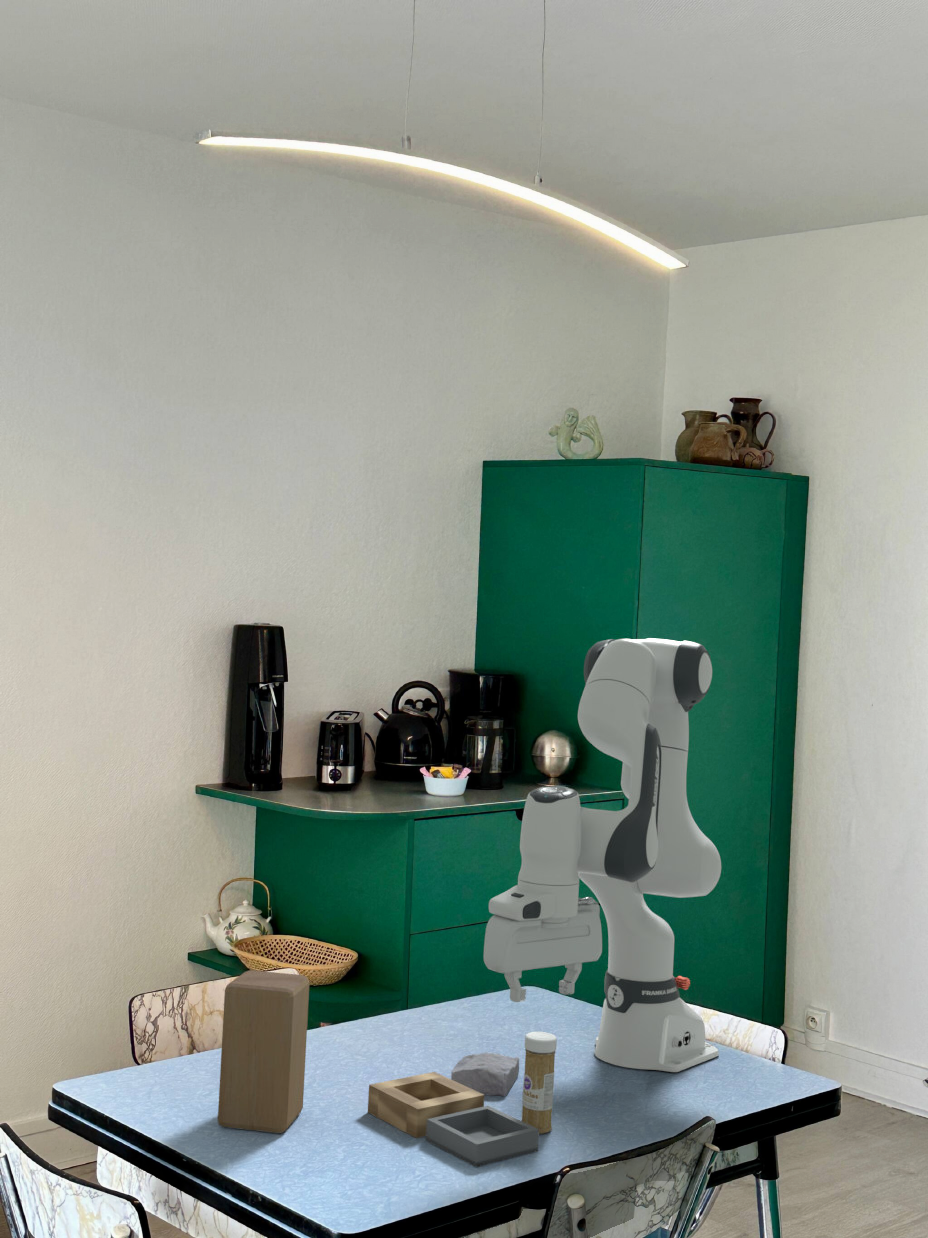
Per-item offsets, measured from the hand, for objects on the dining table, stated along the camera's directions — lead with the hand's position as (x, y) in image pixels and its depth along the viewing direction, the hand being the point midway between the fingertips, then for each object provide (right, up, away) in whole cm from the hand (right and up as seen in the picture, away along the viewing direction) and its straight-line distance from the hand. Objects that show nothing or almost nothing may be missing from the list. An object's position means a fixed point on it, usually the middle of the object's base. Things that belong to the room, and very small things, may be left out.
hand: (542, 997), depth 194 cm
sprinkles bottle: (-1, -19, 0) cm, 19 cm away
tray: (-9, -18, -8) cm, 22 cm away
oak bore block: (-17, -18, +2) cm, 25 cm away
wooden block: (-40, -17, -2) cm, 44 cm away
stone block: (-8, -20, +20) cm, 29 cm away
